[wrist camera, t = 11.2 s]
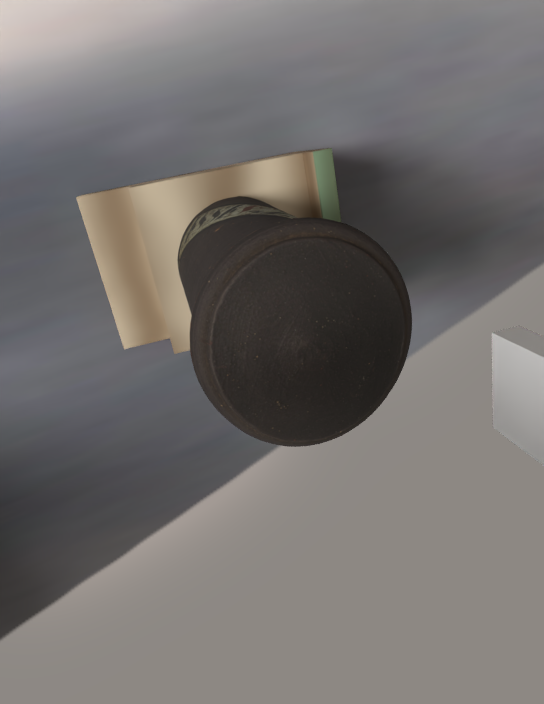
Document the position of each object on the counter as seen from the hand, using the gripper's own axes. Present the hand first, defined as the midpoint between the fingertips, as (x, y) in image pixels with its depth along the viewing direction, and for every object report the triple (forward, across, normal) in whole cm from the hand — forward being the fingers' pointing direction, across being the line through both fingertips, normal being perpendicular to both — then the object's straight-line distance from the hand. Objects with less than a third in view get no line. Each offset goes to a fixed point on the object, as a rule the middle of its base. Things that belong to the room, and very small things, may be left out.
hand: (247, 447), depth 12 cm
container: (+26, +4, 0) cm, 26 cm away
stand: (+33, +2, 0) cm, 33 cm away
